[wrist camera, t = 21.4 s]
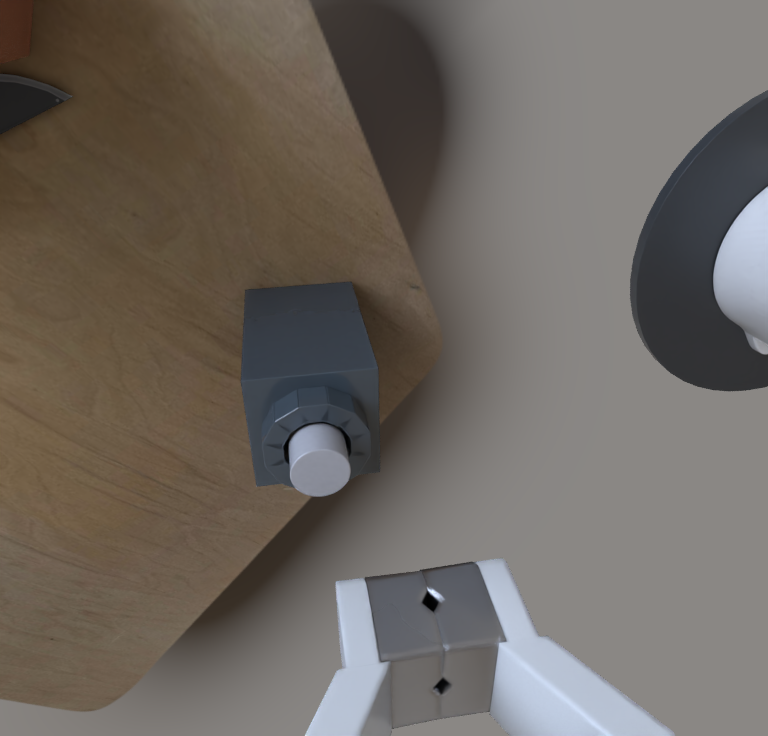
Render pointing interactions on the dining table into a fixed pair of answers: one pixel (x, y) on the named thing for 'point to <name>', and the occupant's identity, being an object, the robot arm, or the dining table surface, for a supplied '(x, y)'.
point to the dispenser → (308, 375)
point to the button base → (15, 29)
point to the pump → (318, 459)
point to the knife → (25, 99)
